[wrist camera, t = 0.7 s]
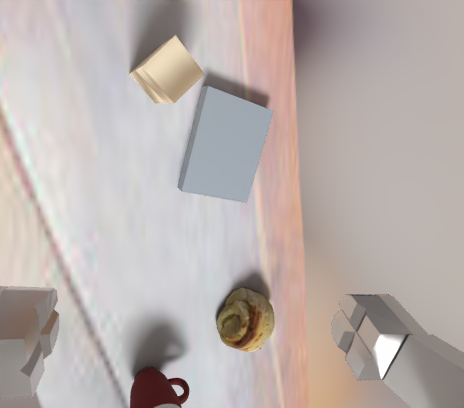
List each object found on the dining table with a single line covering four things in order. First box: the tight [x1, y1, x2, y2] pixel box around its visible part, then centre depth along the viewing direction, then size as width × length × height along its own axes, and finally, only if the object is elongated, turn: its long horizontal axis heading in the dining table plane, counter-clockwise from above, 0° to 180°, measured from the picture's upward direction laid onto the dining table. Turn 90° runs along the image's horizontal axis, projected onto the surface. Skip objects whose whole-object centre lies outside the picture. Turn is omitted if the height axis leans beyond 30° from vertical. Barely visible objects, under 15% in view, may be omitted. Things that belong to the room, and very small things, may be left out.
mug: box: [130, 367, 189, 408], centre depth 53 cm, size 10×8×10 cm
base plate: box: [178, 86, 274, 203], centre depth 49 cm, size 16×12×3 cm
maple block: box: [130, 35, 204, 103], centre depth 38 cm, size 5×5×10 cm
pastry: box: [216, 287, 274, 352], centre depth 59 cm, size 14×12×8 cm
